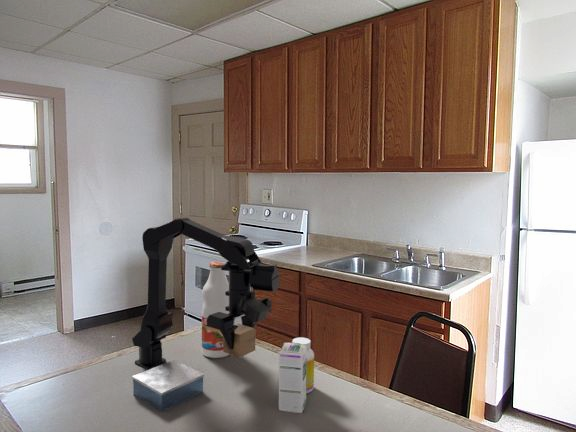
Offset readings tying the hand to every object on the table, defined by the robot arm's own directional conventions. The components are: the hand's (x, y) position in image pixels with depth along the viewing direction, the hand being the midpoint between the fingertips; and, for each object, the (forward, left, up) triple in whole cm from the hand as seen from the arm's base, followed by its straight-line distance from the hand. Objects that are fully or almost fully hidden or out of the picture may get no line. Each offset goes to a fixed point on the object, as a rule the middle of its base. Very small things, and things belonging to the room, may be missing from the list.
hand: (239, 345), depth 113 cm
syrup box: (+19, -2, -10) cm, 21 cm away
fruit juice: (-17, +9, -10) cm, 22 cm away
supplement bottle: (+16, +6, -10) cm, 20 cm away
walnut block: (0, 0, -2) cm, 2 cm away
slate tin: (-9, -16, -10) cm, 21 cm away
